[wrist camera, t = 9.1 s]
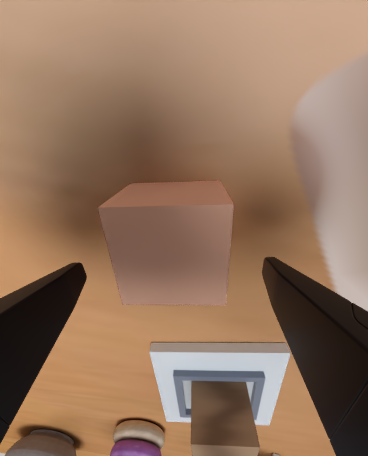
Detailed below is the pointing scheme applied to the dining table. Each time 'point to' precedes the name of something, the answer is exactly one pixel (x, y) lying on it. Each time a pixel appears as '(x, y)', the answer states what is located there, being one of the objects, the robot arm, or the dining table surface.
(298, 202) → the dining table surface
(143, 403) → the dining table surface
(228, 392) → the walnut block
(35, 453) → the coffee pot
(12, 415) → the robot arm
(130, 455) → the stacking toy
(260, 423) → the board
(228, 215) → the terracotta block
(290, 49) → the dining table surface
